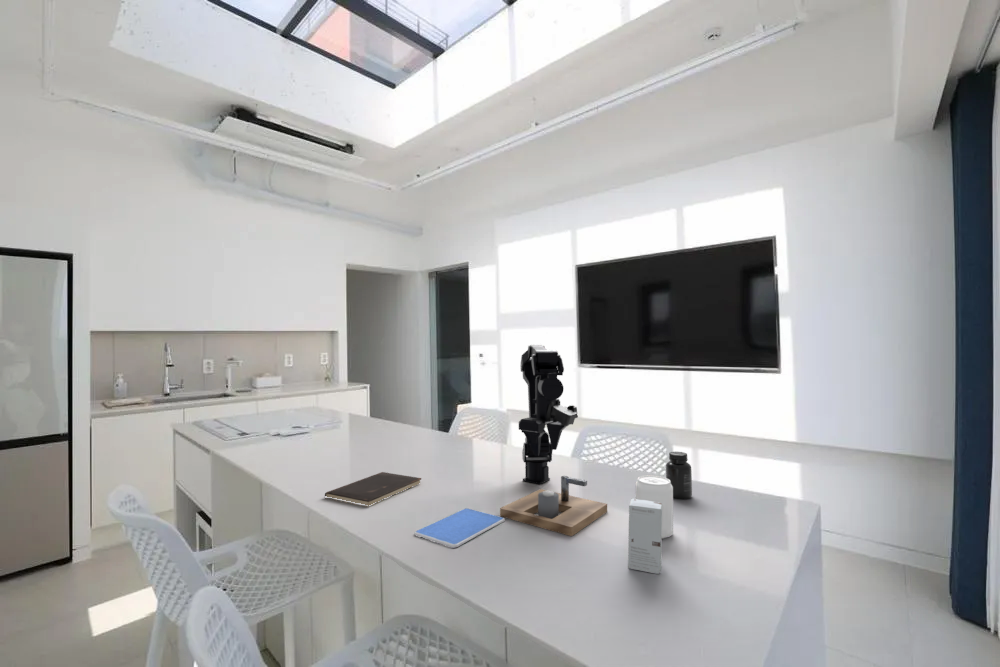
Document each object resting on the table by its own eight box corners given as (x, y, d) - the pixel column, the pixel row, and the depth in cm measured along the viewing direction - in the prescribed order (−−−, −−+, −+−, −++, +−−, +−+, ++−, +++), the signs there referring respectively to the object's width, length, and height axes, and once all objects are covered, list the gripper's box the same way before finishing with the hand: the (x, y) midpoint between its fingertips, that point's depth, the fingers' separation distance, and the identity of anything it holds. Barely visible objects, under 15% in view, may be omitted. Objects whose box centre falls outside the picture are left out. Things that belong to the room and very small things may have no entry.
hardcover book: (421, 485, 141) (421, 478, 141) (368, 509, 121) (368, 500, 121) (380, 478, 148) (380, 471, 148) (324, 500, 128) (324, 491, 128)
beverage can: (654, 543, 99) (654, 487, 99) (628, 529, 106) (627, 477, 107) (681, 536, 103) (680, 482, 103) (653, 523, 110) (653, 473, 110)
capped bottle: (534, 518, 113) (534, 493, 113) (545, 512, 117) (545, 487, 117) (552, 523, 110) (552, 497, 110) (562, 516, 114) (562, 491, 114)
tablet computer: (466, 511, 119) (466, 506, 119) (506, 522, 112) (506, 517, 112) (412, 537, 103) (412, 531, 103) (455, 551, 96) (455, 545, 96)
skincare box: (627, 569, 88) (627, 505, 88) (630, 559, 92) (629, 497, 92) (661, 575, 85) (661, 509, 86) (662, 564, 90) (662, 501, 90)
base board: (500, 516, 115) (500, 508, 115) (540, 496, 130) (540, 489, 130) (571, 536, 103) (571, 527, 103) (607, 511, 118) (607, 503, 118)
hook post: (559, 500, 120) (559, 477, 121) (563, 498, 122) (563, 475, 122) (584, 505, 116) (584, 482, 116) (587, 503, 118) (587, 480, 118)
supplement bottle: (687, 492, 133) (687, 450, 134) (695, 500, 127) (695, 456, 127) (663, 491, 134) (663, 450, 134) (669, 499, 127) (669, 455, 128)
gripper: (554, 401, 115) (554, 464, 114) (587, 394, 130) (587, 450, 129) (517, 397, 122) (517, 457, 121) (553, 392, 136) (553, 445, 136)
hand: (545, 452), depth 127 cm, fingers open, 9 cm apart
